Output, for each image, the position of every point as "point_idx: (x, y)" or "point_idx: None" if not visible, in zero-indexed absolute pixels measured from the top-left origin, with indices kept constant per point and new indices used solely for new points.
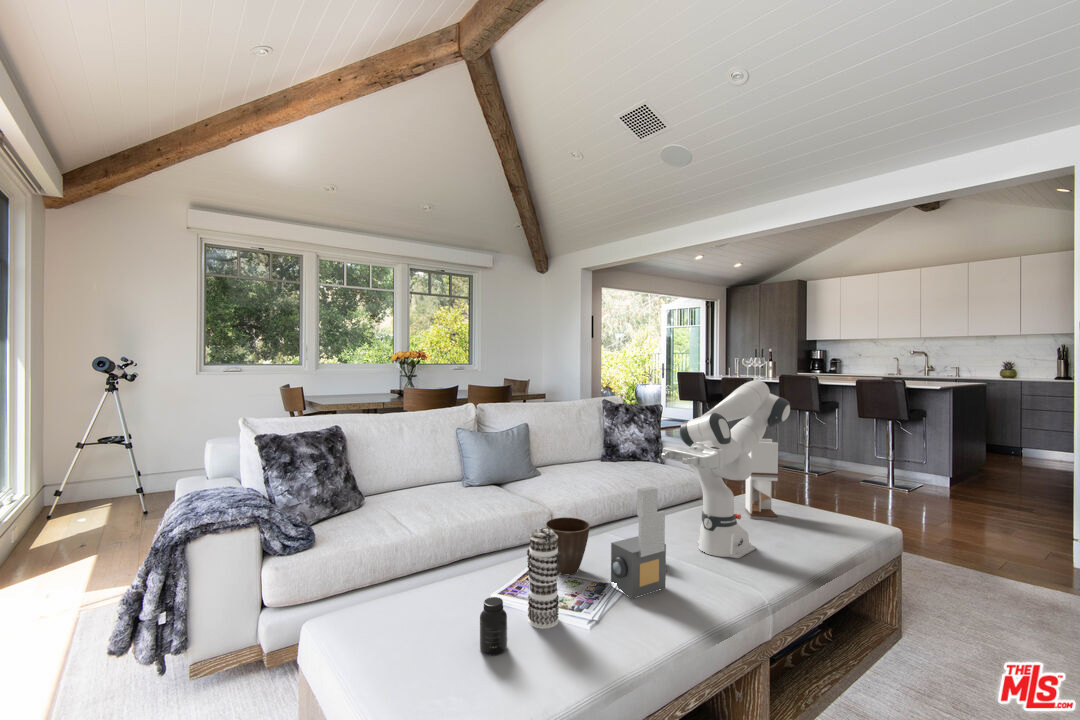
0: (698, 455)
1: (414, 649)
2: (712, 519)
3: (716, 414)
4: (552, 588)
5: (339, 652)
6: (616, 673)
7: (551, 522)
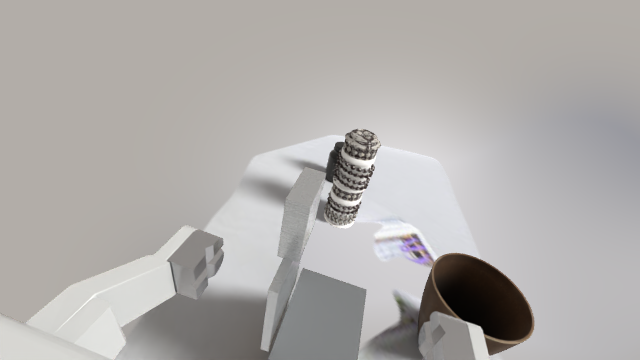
0: (8, 324)
1: None
2: None
3: None
4: (333, 184)
5: (392, 149)
6: (237, 189)
7: (516, 296)
